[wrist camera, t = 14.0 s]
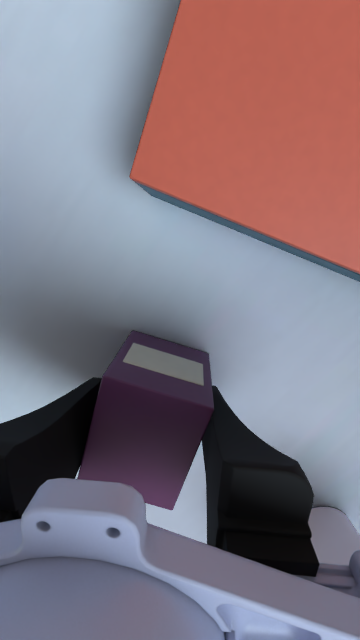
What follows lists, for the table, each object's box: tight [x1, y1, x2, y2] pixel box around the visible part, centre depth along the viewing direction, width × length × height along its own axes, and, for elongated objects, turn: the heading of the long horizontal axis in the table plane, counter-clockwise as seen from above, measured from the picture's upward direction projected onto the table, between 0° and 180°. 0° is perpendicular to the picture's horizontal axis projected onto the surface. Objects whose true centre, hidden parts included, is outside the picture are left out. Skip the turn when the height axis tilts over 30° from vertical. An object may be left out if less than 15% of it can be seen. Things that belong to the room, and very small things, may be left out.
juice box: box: [77, 330, 214, 510], centre depth 13 cm, size 4×6×5 cm
